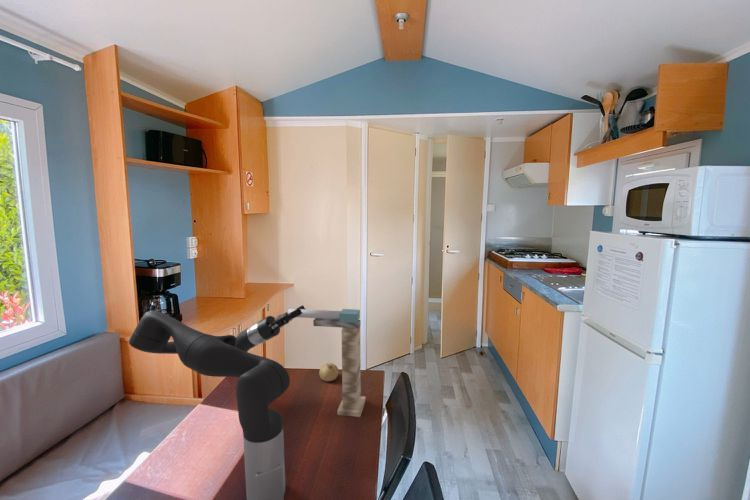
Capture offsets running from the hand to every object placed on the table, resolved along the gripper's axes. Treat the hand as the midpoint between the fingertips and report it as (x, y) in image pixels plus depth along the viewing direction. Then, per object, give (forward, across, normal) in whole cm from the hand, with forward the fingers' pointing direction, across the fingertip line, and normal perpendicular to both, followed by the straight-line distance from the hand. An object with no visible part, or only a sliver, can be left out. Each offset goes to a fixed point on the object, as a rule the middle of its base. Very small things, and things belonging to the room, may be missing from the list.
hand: (302, 309), depth 118 cm
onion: (-15, +18, +33) cm, 40 cm away
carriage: (+5, 0, +6) cm, 8 cm away
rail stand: (-6, 0, +37) cm, 38 cm away
